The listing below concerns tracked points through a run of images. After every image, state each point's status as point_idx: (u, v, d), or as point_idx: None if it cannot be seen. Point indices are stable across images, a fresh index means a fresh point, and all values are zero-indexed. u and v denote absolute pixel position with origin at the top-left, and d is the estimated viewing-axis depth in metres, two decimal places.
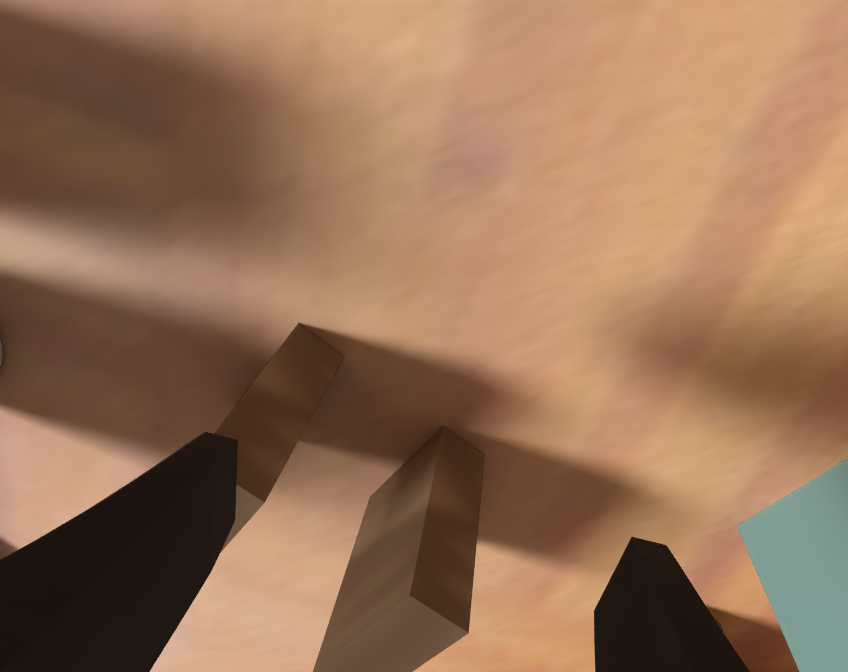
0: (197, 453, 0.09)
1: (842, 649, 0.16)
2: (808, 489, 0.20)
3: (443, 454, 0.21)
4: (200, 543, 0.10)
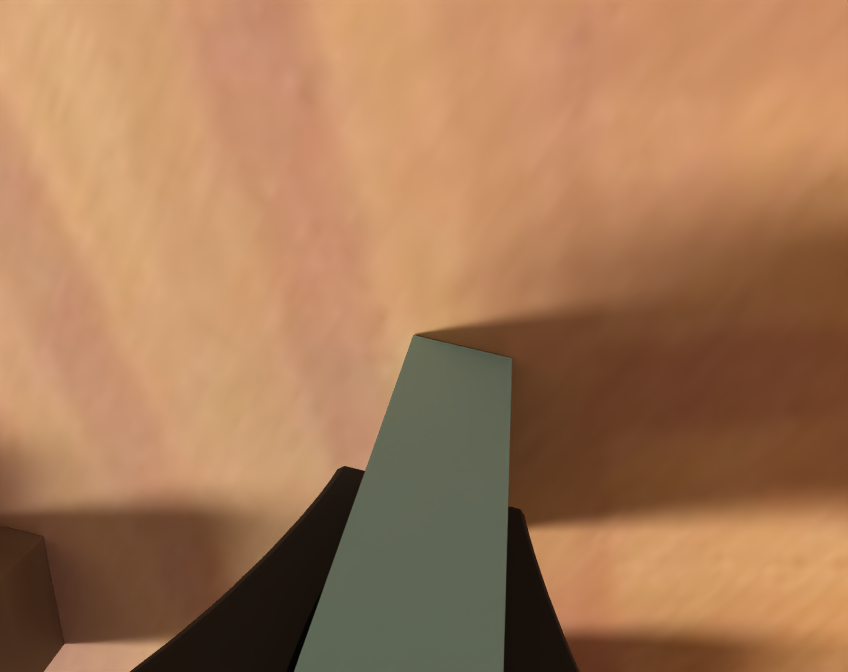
0: (347, 490, 0.09)
1: None
2: None
3: None
4: None
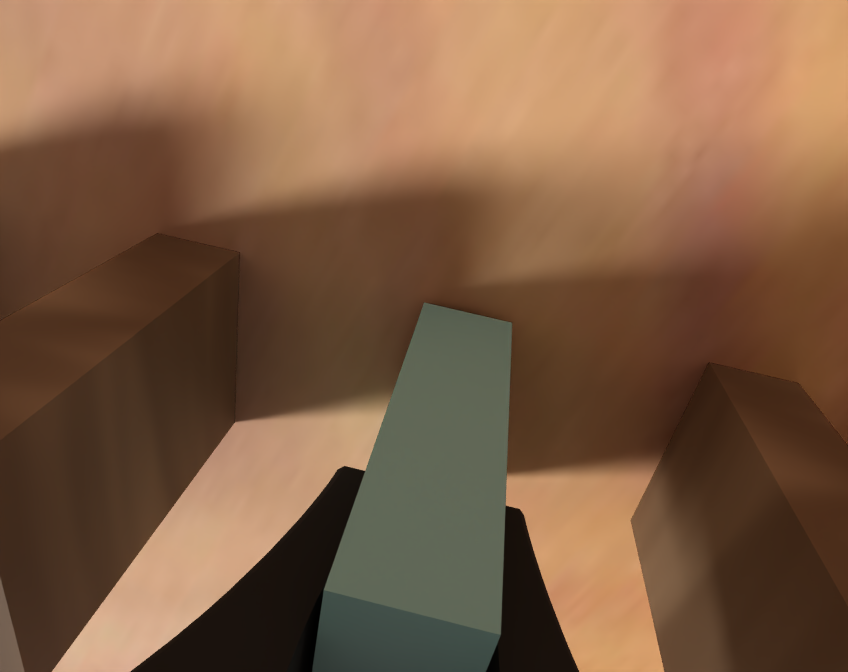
0: (348, 491, 0.09)
1: None
2: None
3: (128, 257, 0.12)
4: None
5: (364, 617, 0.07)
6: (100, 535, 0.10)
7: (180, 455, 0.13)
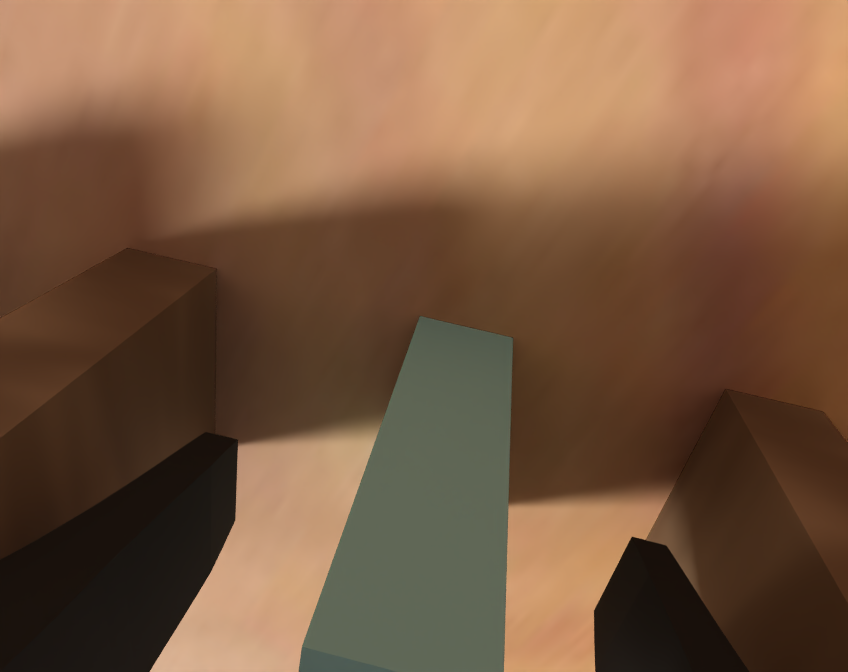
0: (197, 453, 0.09)
1: None
2: None
3: (92, 276, 0.11)
4: (200, 543, 0.10)
5: None
6: None
7: None
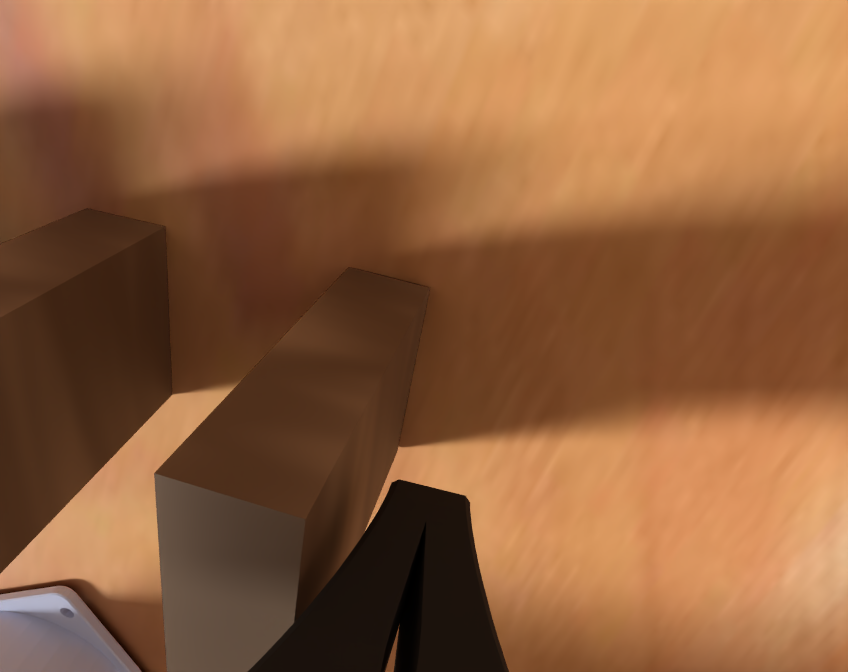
0: (407, 505, 0.09)
1: None
2: None
3: None
4: (406, 596, 0.09)
5: None
6: None
7: None
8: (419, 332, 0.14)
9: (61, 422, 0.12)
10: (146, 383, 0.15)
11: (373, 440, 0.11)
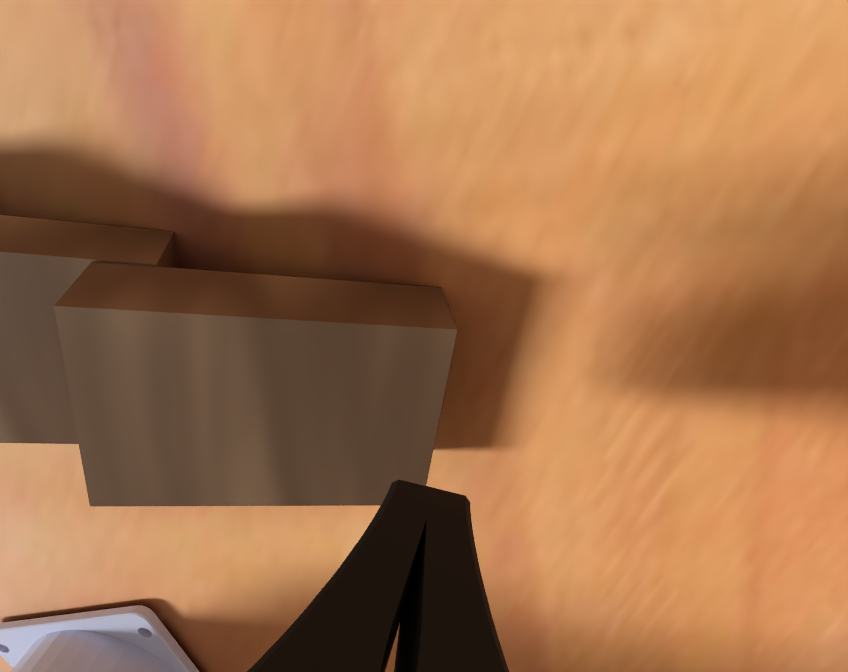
0: (406, 505, 0.09)
1: None
2: None
3: None
4: (405, 596, 0.09)
5: None
6: None
7: None
8: (434, 371, 0.12)
9: None
10: None
11: (263, 387, 0.12)
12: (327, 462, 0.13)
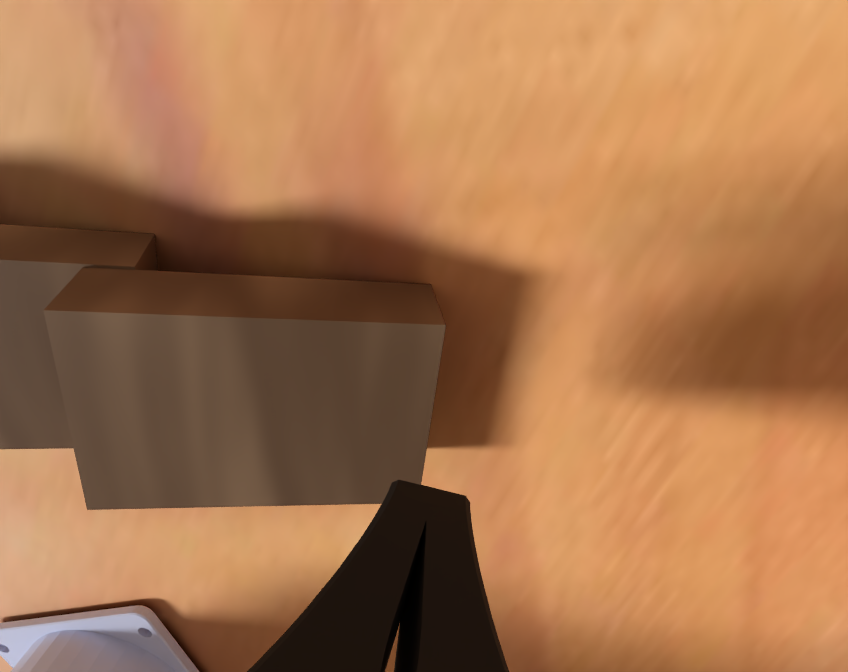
0: (406, 505, 0.09)
1: None
2: None
3: None
4: (405, 596, 0.09)
5: None
6: None
7: None
8: (425, 367, 0.12)
9: None
10: None
11: (253, 387, 0.12)
12: (321, 461, 0.13)
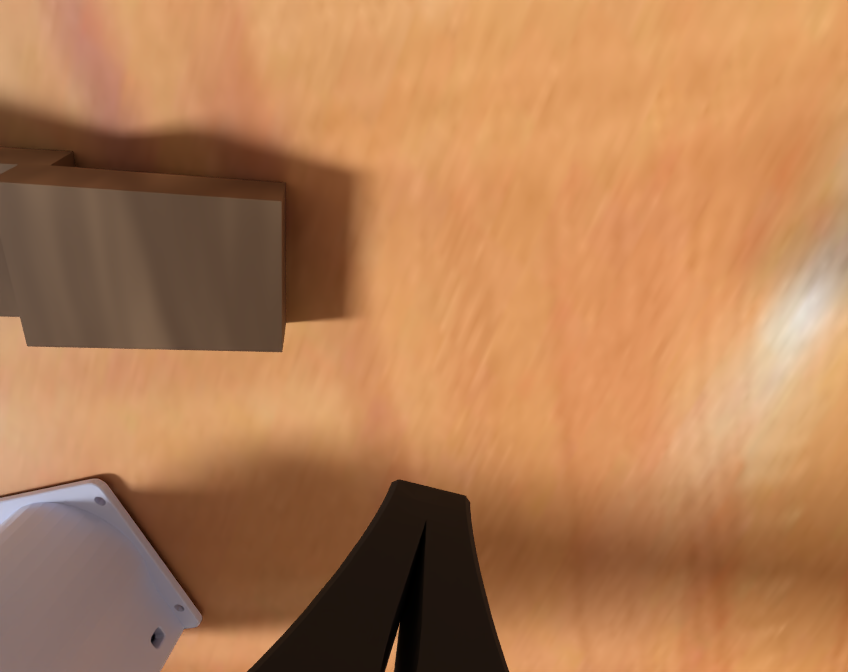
0: (406, 505, 0.09)
1: None
2: None
3: None
4: (405, 596, 0.09)
5: None
6: None
7: None
8: (270, 236, 0.17)
9: None
10: None
11: (143, 247, 0.17)
12: (201, 312, 0.18)
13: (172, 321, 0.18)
